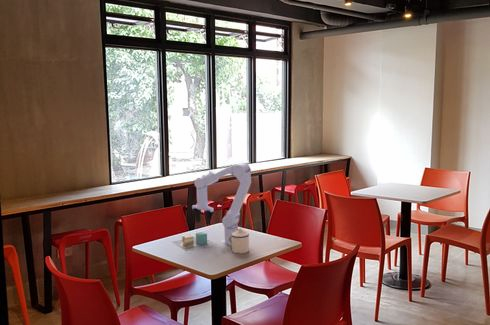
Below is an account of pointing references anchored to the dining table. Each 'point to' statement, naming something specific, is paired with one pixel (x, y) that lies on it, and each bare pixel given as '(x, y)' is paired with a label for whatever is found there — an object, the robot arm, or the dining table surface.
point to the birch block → (187, 240)
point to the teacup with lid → (239, 241)
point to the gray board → (195, 246)
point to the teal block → (201, 238)
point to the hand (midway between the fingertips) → (203, 222)
